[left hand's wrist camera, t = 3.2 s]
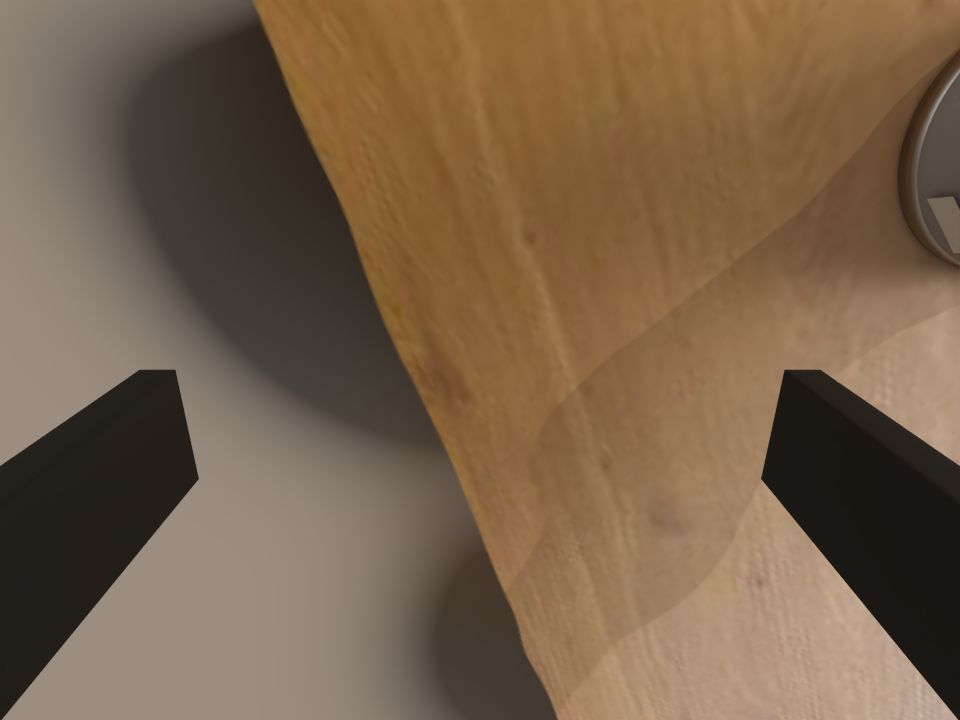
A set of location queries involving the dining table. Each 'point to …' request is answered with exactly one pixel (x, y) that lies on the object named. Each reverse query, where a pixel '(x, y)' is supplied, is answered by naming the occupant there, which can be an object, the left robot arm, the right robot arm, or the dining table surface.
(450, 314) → the dining table surface
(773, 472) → the left robot arm
